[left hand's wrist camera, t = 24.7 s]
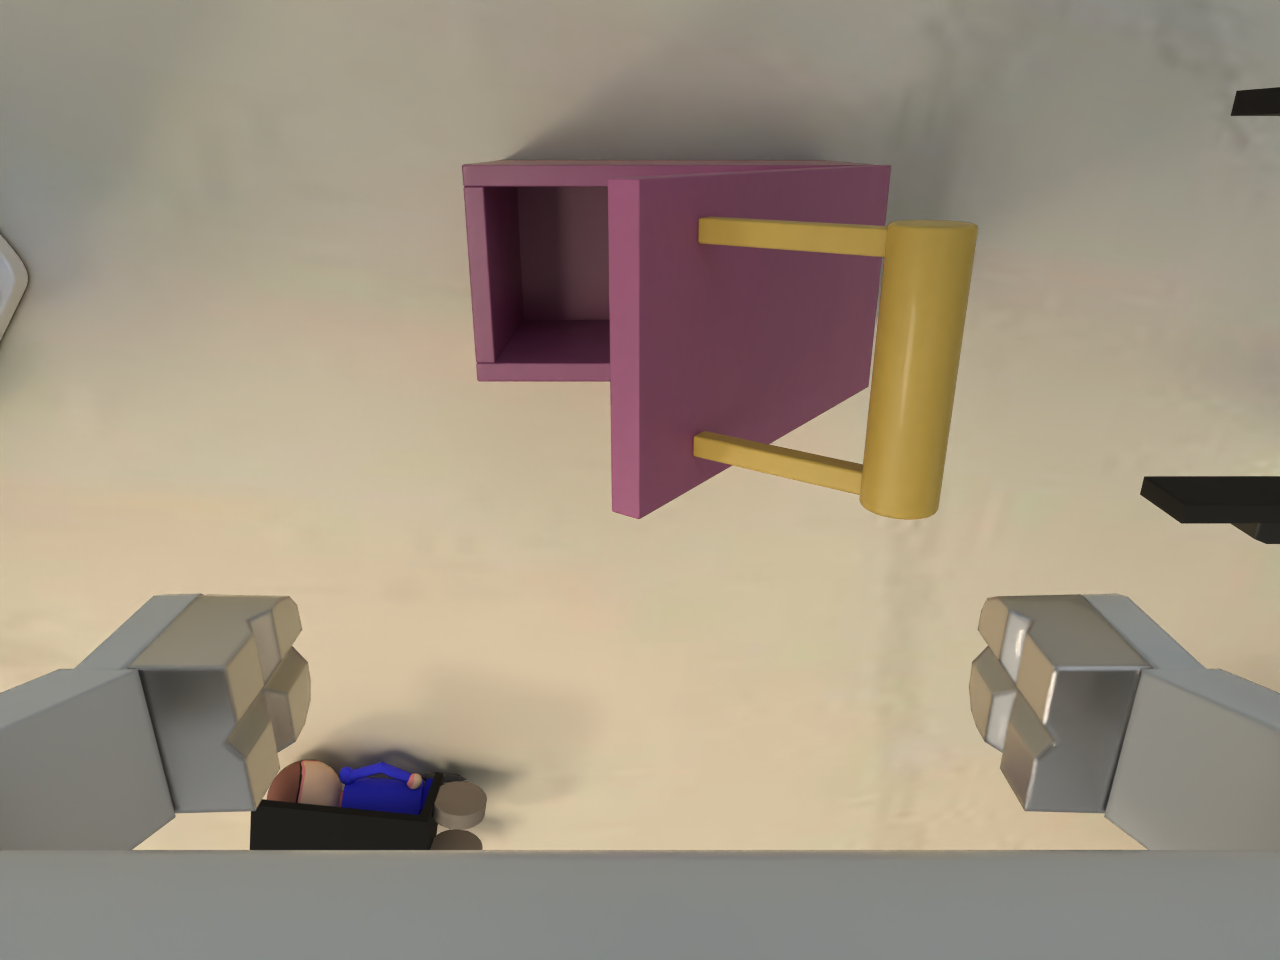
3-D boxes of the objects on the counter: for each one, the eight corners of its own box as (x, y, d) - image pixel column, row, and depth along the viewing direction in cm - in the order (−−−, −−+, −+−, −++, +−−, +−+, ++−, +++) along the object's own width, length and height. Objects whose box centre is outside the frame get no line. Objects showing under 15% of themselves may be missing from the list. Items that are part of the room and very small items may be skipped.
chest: (511, 331, 50) (477, 381, 39) (501, 159, 46) (461, 164, 36) (809, 331, 50) (854, 381, 39) (822, 160, 46) (876, 164, 36)
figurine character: (492, 744, 62) (277, 733, 60) (486, 821, 55) (244, 812, 53) (484, 814, 65) (277, 807, 62) (477, 897, 58) (245, 892, 55)
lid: (611, 511, 25) (890, 593, 21) (607, 177, 22) (940, 187, 17) (847, 383, 39) (1047, 415, 35) (867, 165, 36) (1092, 168, 31)
